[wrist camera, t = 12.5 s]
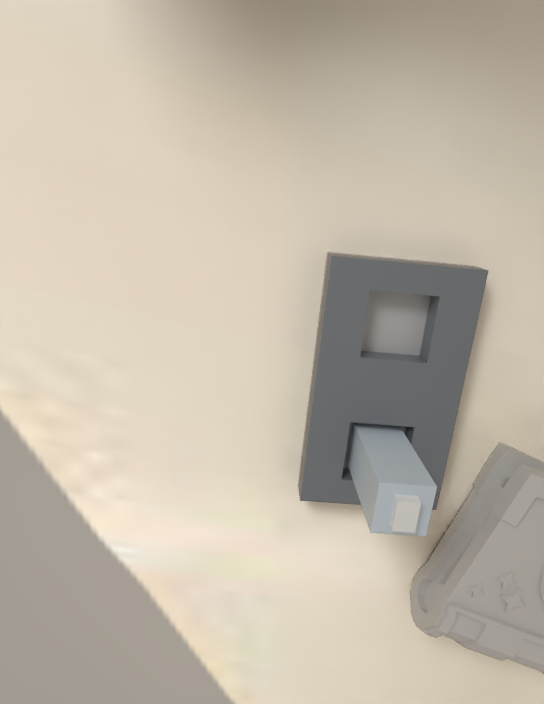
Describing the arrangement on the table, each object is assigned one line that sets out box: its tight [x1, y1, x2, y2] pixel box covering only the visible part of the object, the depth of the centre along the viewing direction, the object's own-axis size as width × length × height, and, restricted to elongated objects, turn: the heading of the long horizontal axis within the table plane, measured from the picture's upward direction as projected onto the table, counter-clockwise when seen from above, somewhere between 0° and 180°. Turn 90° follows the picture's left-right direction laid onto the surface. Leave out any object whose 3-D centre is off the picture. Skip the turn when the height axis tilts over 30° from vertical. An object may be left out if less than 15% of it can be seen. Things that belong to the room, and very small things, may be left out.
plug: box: [347, 422, 437, 536], centre depth 40 cm, size 4×4×11 cm
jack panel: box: [298, 252, 488, 510], centre depth 43 cm, size 21×12×2 cm, turn 175°
